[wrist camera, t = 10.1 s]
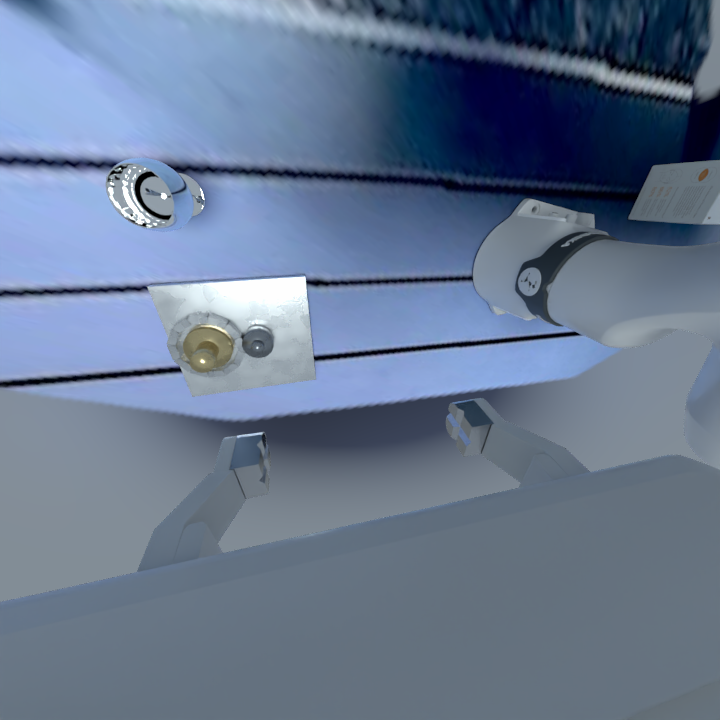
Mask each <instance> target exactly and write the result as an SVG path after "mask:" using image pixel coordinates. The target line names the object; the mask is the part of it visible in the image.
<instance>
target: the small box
mask: <svg viewBox="0 0 720 720" xmlns="http://www.w3.org/2000/svg"><path fill="white" fill-rule="evenodd" d="M628 219H630V220H643V221H657V222H671V223H686V224H718V225H720V160H714V161H701V162H688V163H676V164H664V165H654V166H652V168H651V170H650V173H649V175H648V177H647V179H646V181H645V183H644V185H643V187H642V189H641V192H640V194H639V196H638V198H637V200H636V202H635V204H634V206H633V208H632V210H631V213H630V215H629V217H628Z"/></svg>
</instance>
